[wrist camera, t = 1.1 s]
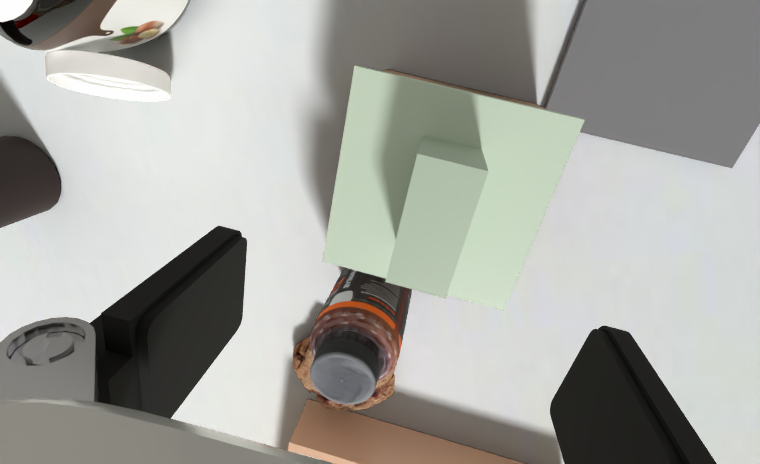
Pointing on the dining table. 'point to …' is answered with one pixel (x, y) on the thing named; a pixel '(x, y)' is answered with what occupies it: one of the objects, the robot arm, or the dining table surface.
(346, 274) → the supplement bottle
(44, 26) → the spread jar
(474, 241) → the lid
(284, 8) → the dining table surface
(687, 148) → the mat
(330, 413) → the wooden tray
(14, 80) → the dining table surface
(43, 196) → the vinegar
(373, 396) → the cookie
